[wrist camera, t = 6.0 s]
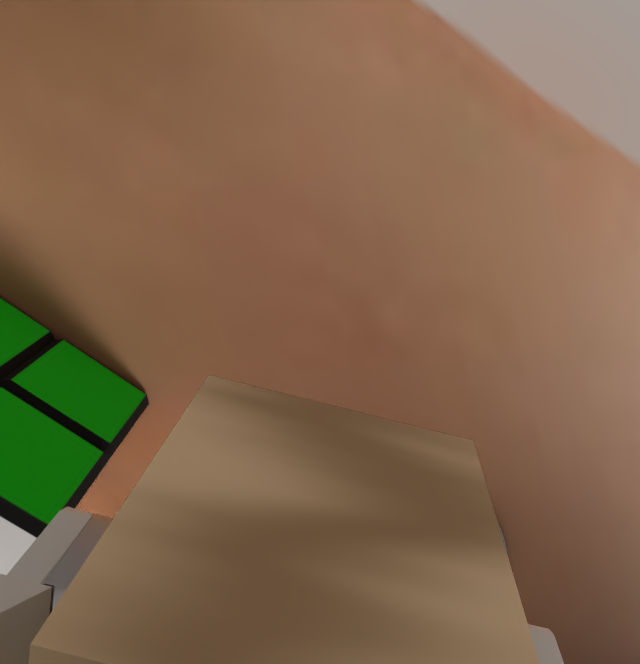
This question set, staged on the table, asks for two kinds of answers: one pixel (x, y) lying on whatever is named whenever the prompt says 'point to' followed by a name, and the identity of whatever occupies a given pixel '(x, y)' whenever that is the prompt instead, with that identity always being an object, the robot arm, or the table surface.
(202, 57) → the table surface
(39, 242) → the table surface
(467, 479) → the oak block
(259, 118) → the table surface
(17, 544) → the puzzle cube
